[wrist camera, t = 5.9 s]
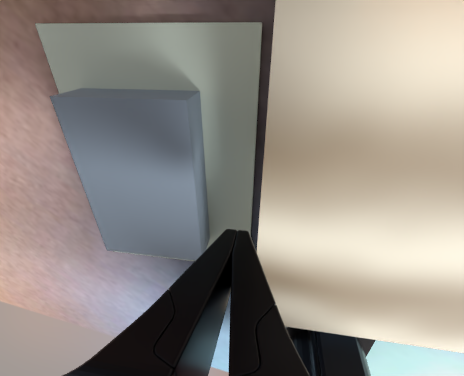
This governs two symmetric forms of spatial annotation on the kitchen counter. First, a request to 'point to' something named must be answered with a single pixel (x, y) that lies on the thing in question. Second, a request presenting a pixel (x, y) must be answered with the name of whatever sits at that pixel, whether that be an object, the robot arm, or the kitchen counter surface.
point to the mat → (178, 78)
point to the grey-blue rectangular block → (140, 167)
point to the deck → (366, 170)
